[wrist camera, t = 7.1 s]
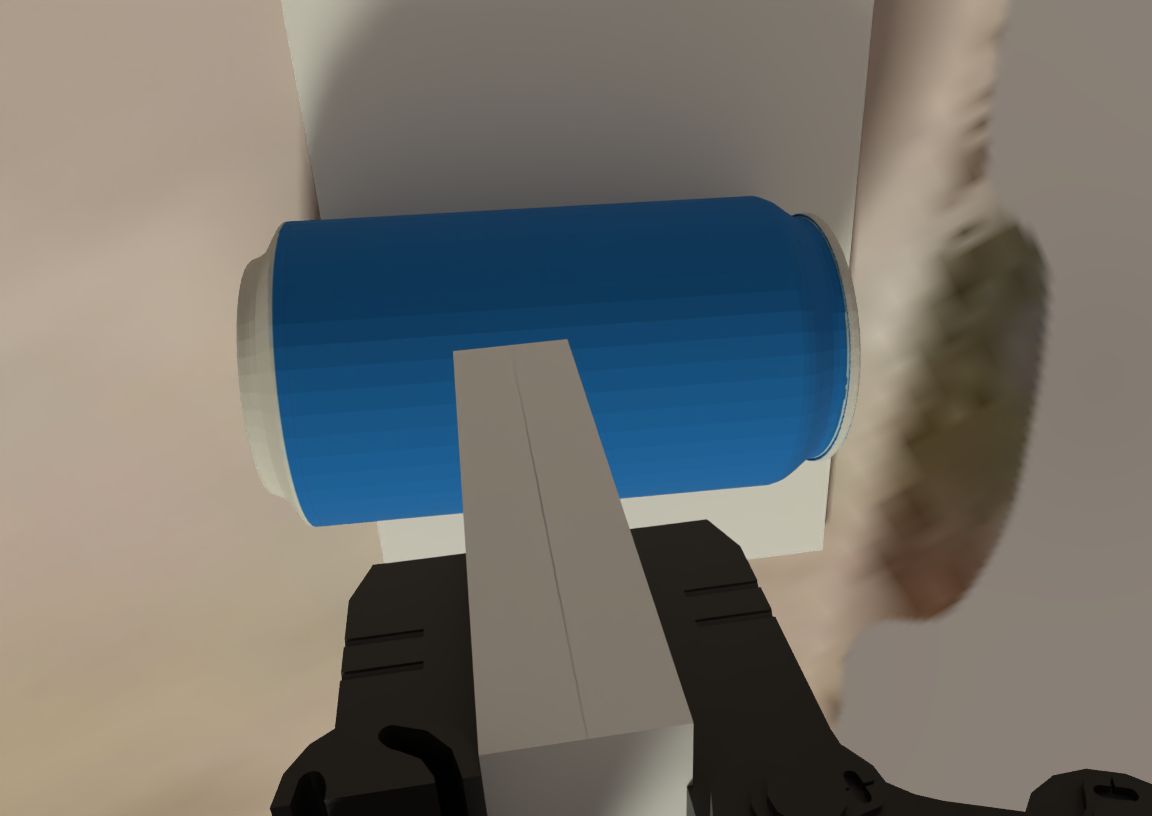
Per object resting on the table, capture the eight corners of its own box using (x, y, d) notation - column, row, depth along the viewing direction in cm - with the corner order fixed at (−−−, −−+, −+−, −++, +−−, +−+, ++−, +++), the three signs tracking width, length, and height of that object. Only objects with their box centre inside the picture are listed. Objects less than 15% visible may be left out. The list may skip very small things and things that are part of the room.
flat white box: (222, -346, 17) (215, -354, 17) (896, -365, 18) (909, -373, 18) (392, 591, 28) (391, 604, 27) (815, 538, 29) (822, 550, 28)
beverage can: (302, 358, 24) (747, 326, 26) (290, 583, 20) (813, 532, 22) (241, 157, 19) (803, 130, 20) (210, 409, 15) (903, 355, 17)
